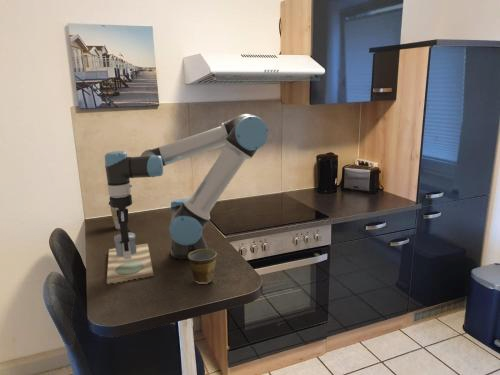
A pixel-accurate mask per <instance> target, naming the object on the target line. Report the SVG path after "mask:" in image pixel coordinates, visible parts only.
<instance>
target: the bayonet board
mask: <svg viewBox="0 0 500 375" xmlns="http://www.w3.org/2000/svg"><path fill="white" fill-rule="evenodd" d="M107 257H108V258H107V260H108V261H107V271H106V272H107V274H106V285H107V284H108V285H111V284H110V283H114V284H118V283H117V282H120V283H124V282H123V281H125V282H129V281H128V280H131V281H134V280H133V279H136V280H139V279H138V278H142V279H144V278H143V277H148V276H153V277H154V270H153V266H152V265H153V264H152V260H151V253H150V249H149V244H148V243H147V242H146V243H142V244H141V243H140V244H136V253H135V254H133V255H131V257H132V258H130V259H124V257H122V256H117V253H116V247H114V248H108V256H107ZM148 278H149V277H148Z"/></svg>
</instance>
